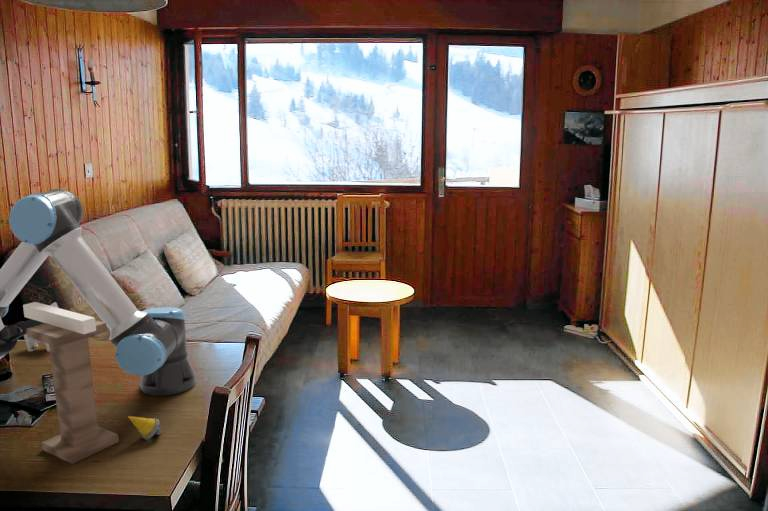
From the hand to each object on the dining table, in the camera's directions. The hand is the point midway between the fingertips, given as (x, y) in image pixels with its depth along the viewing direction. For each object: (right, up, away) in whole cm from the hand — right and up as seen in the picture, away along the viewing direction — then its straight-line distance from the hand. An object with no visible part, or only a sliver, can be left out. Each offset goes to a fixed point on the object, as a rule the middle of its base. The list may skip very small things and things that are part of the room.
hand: (29, 314), depth 159 cm
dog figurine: (-29, -18, +65) cm, 73 cm away
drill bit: (+27, -31, +2) cm, 41 cm away
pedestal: (+13, -31, -1) cm, 34 cm away
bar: (+10, -2, -5) cm, 11 cm away
